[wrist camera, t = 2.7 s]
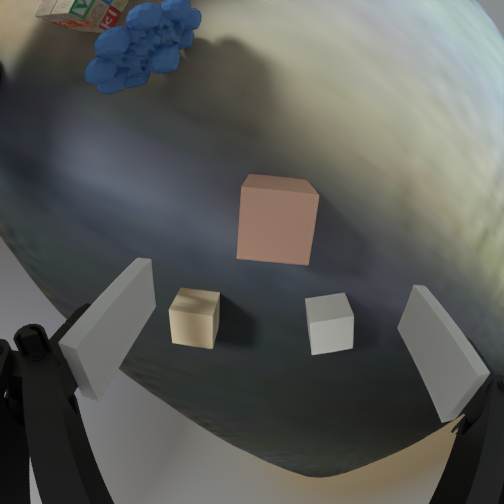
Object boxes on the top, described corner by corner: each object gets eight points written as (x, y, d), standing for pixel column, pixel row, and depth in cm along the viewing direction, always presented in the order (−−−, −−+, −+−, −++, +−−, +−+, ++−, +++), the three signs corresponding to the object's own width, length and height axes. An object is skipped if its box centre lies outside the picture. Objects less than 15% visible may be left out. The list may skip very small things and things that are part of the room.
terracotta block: (244, 228, 31) (236, 258, 23) (249, 173, 28) (241, 186, 21) (299, 233, 31) (308, 265, 23) (306, 179, 28) (319, 194, 21)
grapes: (156, 121, 26) (93, 118, 15) (120, 86, 25) (51, 73, 14) (234, 45, 23) (212, -5, 12) (192, 13, 21) (153, -38, 10)
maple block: (182, 318, 36) (172, 342, 32) (181, 287, 34) (168, 309, 30) (219, 323, 36) (212, 348, 32) (220, 292, 34) (212, 315, 30)
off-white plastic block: (307, 329, 36) (311, 355, 31) (304, 298, 34) (309, 323, 29) (344, 323, 35) (352, 348, 30) (344, 292, 33) (353, 315, 29)
